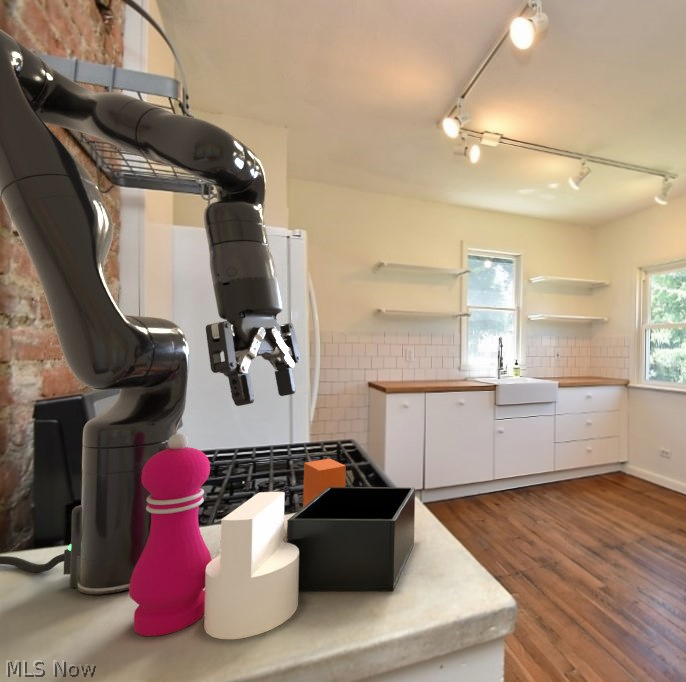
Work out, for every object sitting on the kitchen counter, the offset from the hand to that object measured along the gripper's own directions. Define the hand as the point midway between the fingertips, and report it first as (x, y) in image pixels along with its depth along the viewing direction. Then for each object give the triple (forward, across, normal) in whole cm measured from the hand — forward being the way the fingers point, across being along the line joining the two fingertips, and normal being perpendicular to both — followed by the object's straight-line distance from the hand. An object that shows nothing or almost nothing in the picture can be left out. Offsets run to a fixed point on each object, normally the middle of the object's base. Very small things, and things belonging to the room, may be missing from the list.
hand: (267, 399), depth 60 cm
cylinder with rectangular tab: (+23, +10, +1) cm, 25 cm away
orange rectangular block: (+22, -14, -5) cm, 27 cm away
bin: (+24, -2, +7) cm, 26 cm away
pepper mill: (+21, +12, -6) cm, 26 cm away
